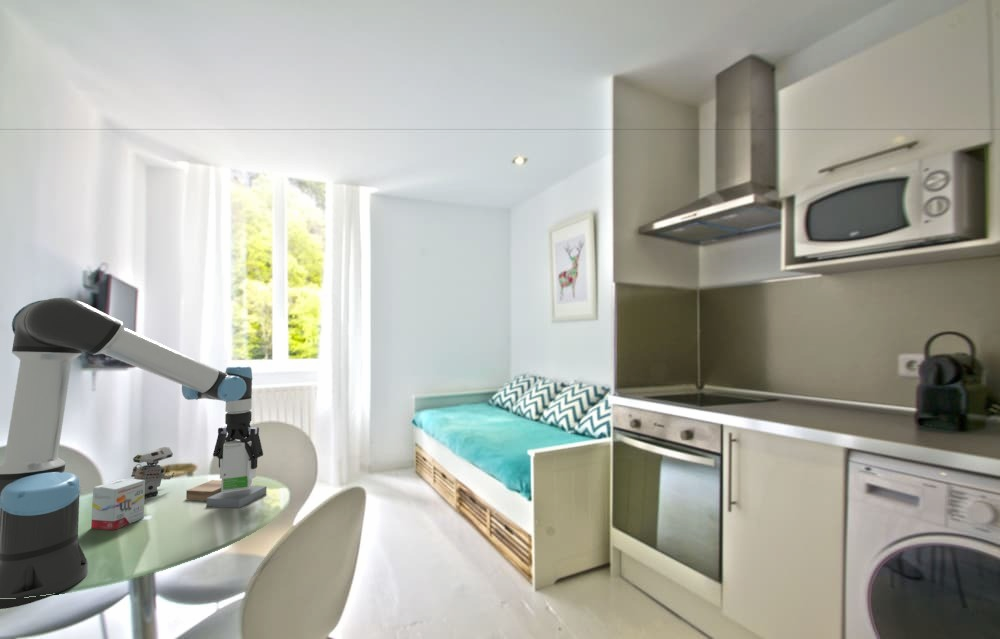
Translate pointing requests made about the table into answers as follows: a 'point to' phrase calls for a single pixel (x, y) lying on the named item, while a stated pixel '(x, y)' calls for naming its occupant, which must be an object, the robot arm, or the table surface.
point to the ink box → (118, 503)
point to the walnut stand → (204, 490)
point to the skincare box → (235, 466)
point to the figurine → (151, 469)
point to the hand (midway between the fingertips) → (237, 477)
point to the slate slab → (236, 497)
